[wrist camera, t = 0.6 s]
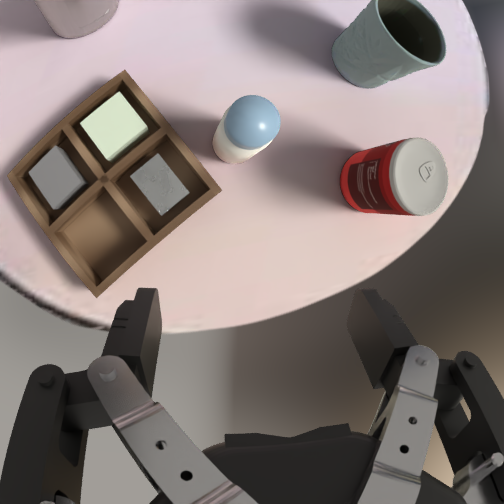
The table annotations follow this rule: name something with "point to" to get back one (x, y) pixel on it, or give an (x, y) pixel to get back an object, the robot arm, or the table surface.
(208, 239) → the table surface
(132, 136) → the note block
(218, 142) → the glue stick
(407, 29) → the green cup
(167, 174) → the grey rectangular block
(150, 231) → the organizer
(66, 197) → the eraser
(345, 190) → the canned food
